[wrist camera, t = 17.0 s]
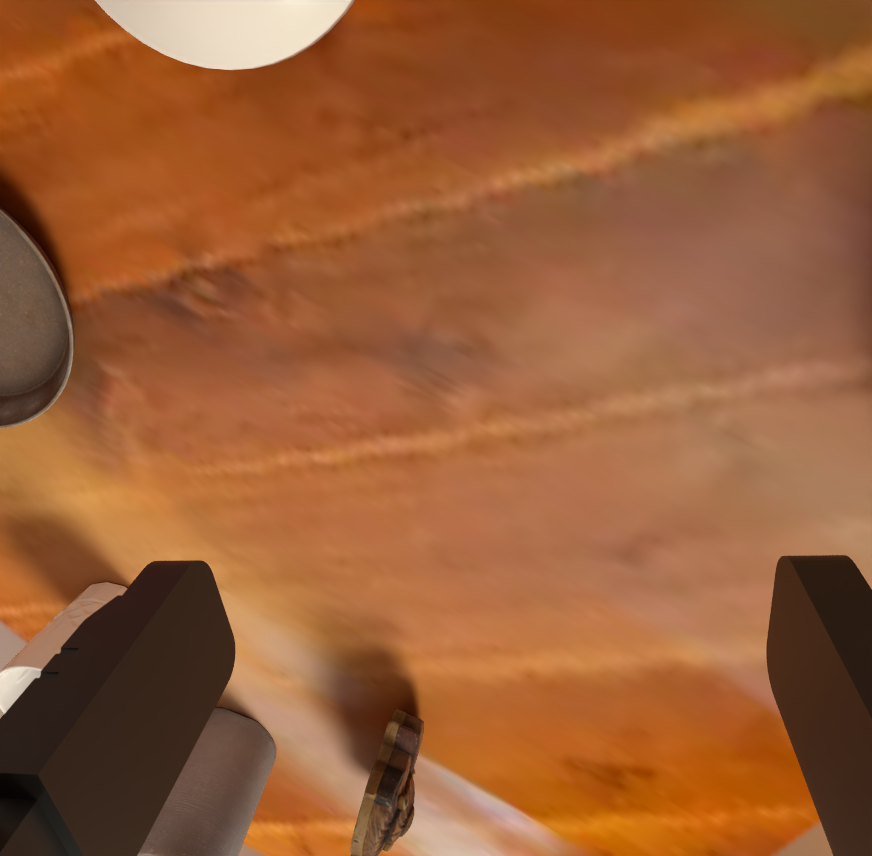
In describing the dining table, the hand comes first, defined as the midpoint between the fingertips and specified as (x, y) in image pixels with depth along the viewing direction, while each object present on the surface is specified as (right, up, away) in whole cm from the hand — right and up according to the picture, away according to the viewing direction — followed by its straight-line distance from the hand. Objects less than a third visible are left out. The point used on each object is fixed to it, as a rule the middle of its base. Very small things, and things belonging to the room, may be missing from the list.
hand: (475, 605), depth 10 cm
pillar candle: (-20, -27, +55) cm, 65 cm away
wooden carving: (-4, -26, +52) cm, 58 cm away
